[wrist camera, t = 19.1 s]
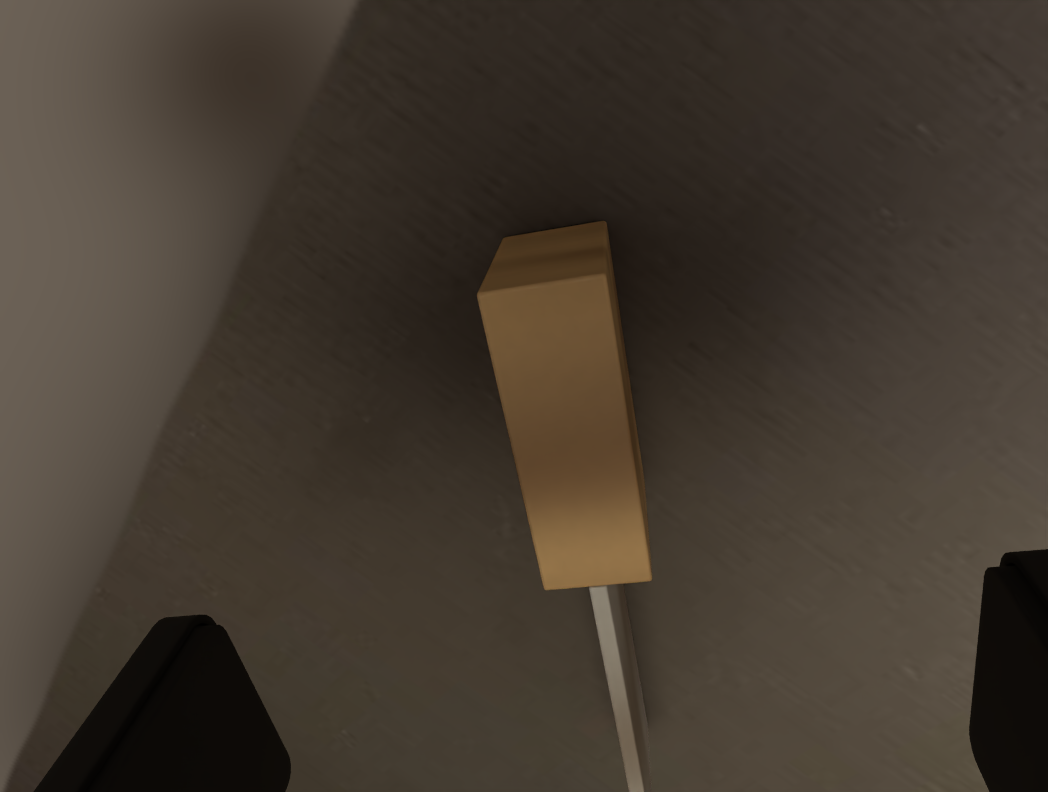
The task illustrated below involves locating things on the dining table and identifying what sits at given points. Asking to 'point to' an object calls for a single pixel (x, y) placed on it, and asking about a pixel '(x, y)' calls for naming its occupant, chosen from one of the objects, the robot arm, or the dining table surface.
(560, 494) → the knife
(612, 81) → the dining table surface
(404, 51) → the dining table surface
